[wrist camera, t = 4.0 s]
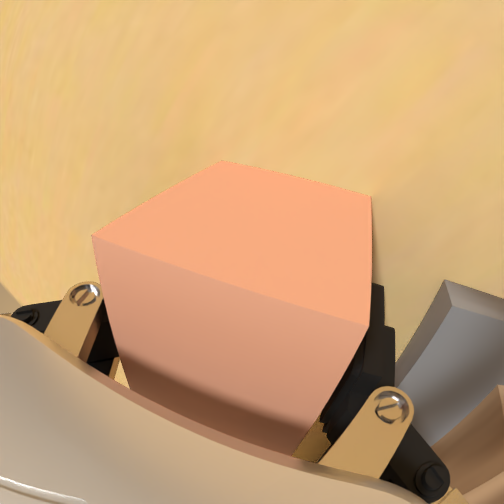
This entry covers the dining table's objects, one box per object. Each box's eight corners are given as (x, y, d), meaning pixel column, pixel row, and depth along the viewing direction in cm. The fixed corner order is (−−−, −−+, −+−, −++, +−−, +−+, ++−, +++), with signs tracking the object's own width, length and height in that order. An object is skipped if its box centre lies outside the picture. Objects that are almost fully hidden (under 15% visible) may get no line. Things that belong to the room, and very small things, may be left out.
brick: (370, 195, 9) (369, 326, 4) (312, 361, 13) (273, 479, 8) (223, 159, 10) (91, 234, 5) (211, 327, 14) (144, 426, 9)
